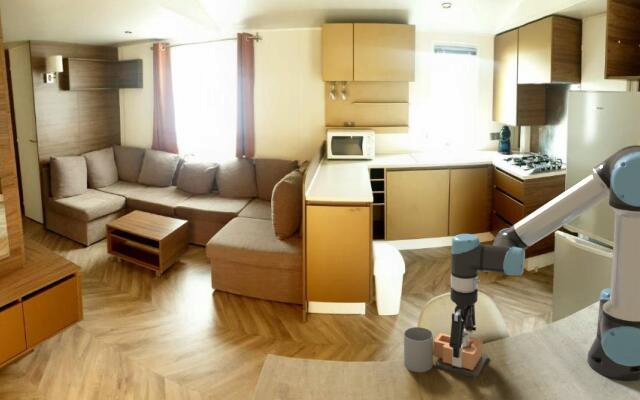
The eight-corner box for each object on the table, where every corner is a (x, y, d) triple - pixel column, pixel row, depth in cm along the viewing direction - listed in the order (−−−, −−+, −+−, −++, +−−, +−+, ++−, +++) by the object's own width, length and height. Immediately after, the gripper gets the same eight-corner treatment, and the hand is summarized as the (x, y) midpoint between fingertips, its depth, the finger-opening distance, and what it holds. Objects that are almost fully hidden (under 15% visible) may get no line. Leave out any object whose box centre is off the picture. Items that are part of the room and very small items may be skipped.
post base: (488, 357, 161) (489, 330, 159) (476, 378, 152) (477, 349, 149) (449, 348, 168) (450, 322, 165) (435, 366, 158) (435, 339, 156)
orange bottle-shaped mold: (482, 355, 160) (482, 340, 159) (473, 370, 153) (473, 354, 152) (442, 344, 167) (442, 330, 166) (431, 358, 160) (431, 343, 159)
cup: (431, 356, 163) (431, 327, 161) (434, 372, 155) (434, 341, 153) (403, 356, 164) (403, 327, 162) (404, 371, 156) (404, 341, 154)
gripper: (465, 305, 143) (463, 379, 148) (488, 276, 160) (485, 344, 166) (437, 299, 147) (437, 372, 152) (463, 272, 164) (461, 338, 170)
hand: (462, 357), depth 159 cm, fingers closed on orange bottle-shaped mold, 9 cm apart
